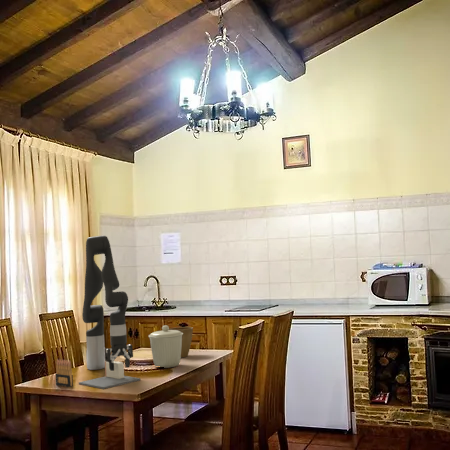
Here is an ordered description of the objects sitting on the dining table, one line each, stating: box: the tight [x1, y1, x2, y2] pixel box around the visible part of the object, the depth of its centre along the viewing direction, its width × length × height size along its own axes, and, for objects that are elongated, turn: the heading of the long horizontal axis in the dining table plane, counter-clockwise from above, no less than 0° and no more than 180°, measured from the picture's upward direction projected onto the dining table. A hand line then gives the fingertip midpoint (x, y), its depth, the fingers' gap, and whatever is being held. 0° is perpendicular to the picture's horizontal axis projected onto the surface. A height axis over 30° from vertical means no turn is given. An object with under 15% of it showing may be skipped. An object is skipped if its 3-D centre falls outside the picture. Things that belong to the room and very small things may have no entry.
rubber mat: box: [78, 375, 141, 390], centre depth 254 cm, size 20×20×1 cm
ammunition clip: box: [55, 358, 74, 388], centre depth 252 cm, size 11×2×12 cm, turn 52°
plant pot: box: [169, 326, 194, 358], centre depth 314 cm, size 15×15×16 cm
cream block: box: [104, 360, 125, 379], centre depth 261 cm, size 3×7×11 cm
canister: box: [148, 324, 183, 369], centre depth 286 cm, size 18×18×21 cm
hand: (119, 369), depth 258 cm, fingers open, 8 cm apart
